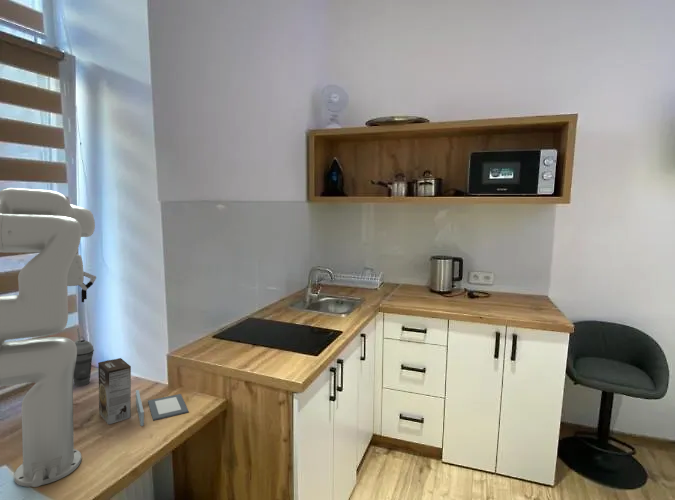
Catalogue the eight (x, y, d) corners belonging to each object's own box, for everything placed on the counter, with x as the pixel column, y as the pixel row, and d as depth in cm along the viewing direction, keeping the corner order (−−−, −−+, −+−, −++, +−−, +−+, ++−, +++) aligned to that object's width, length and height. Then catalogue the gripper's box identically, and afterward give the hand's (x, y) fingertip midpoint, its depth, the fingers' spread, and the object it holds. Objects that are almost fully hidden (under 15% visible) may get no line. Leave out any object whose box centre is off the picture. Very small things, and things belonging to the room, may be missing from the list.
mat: (188, 412, 116) (188, 410, 116) (153, 420, 111) (153, 418, 111) (180, 395, 127) (180, 393, 127) (148, 401, 122) (148, 400, 122)
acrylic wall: (143, 425, 108) (143, 412, 108) (140, 426, 108) (140, 412, 107) (138, 401, 121) (138, 389, 121) (135, 402, 121) (135, 390, 121)
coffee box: (98, 413, 113) (97, 362, 112) (121, 406, 118) (121, 357, 117) (107, 425, 107) (106, 371, 106) (131, 417, 112) (131, 365, 111)
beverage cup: (85, 388, 129) (84, 332, 128) (64, 387, 129) (63, 331, 128) (98, 379, 136) (98, 326, 135) (79, 378, 137) (78, 325, 135)
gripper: (28, 252, 114) (29, 307, 115) (96, 251, 123) (96, 302, 124) (31, 250, 120) (33, 302, 121) (95, 250, 129) (96, 298, 130)
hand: (65, 302), depth 123 cm, fingers open, 9 cm apart
